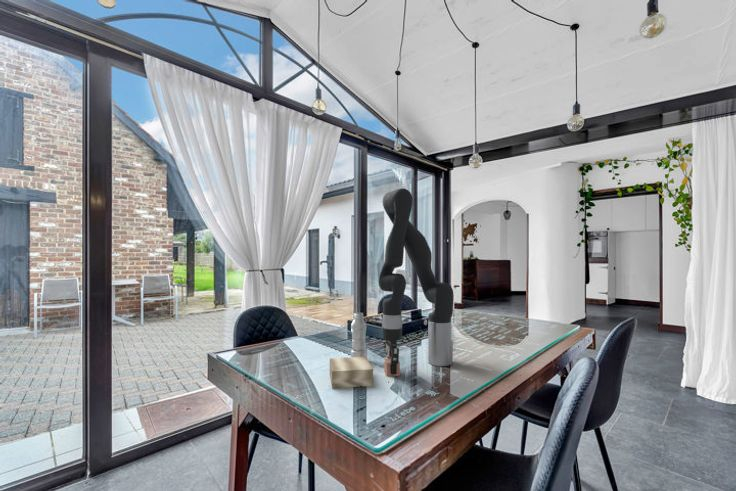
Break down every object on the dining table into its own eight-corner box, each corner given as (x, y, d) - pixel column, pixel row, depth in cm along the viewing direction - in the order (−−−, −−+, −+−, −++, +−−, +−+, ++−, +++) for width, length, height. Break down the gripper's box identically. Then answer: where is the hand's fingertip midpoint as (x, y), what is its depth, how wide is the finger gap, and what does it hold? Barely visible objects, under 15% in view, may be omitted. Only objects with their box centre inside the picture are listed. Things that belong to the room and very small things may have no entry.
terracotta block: (397, 371, 132) (397, 358, 132) (399, 376, 127) (399, 362, 127) (384, 371, 131) (384, 358, 131) (386, 376, 126) (386, 362, 126)
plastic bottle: (364, 364, 139) (365, 315, 140) (348, 363, 141) (349, 314, 141) (368, 359, 146) (368, 312, 146) (352, 358, 147) (352, 311, 147)
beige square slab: (366, 372, 131) (366, 356, 131) (373, 386, 117) (373, 369, 117) (329, 374, 128) (329, 358, 129) (332, 389, 115) (332, 371, 115)
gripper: (406, 330, 122) (406, 377, 122) (397, 322, 137) (397, 364, 136) (385, 330, 121) (385, 378, 121) (379, 322, 136) (379, 365, 135)
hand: (391, 370), depth 129 cm, fingers open, 5 cm apart
